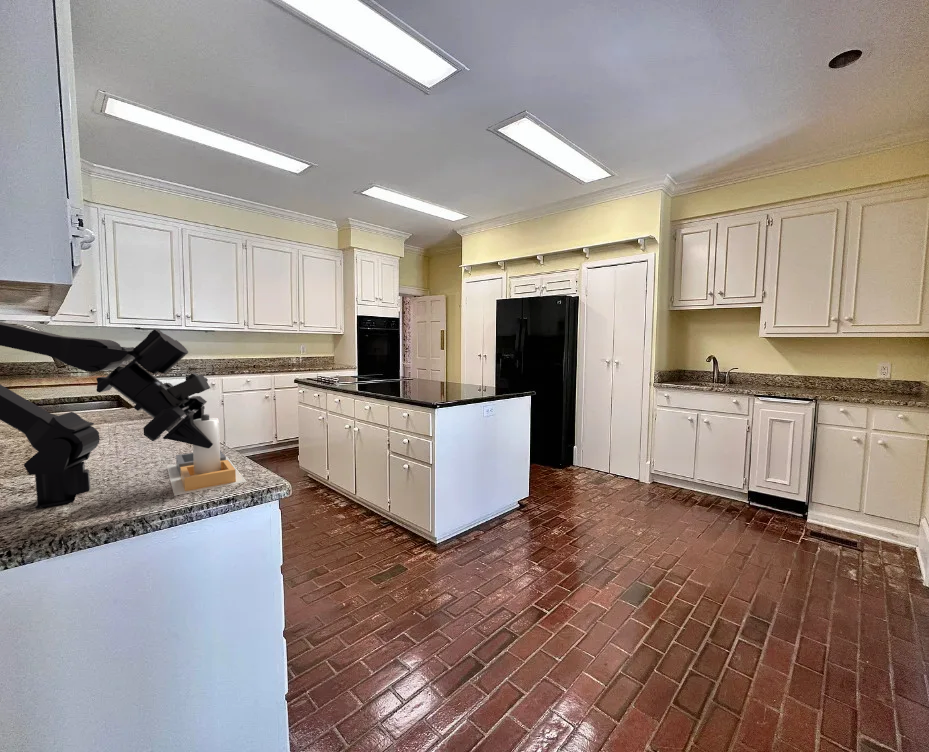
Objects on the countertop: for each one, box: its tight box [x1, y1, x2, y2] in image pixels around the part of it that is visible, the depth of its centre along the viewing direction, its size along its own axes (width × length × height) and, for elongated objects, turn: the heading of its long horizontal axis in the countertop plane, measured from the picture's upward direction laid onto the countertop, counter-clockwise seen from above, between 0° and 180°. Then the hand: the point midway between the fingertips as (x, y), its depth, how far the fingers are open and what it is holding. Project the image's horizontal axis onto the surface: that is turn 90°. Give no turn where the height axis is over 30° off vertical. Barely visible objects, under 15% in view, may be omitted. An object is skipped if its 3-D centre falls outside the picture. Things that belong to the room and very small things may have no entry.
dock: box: [166, 449, 247, 496], centre depth 88 cm, size 12×22×4 cm, turn 39°
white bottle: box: [192, 413, 221, 475], centre depth 83 cm, size 5×5×12 cm
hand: (214, 443), depth 83 cm, fingers closed on white bottle, 4 cm apart
